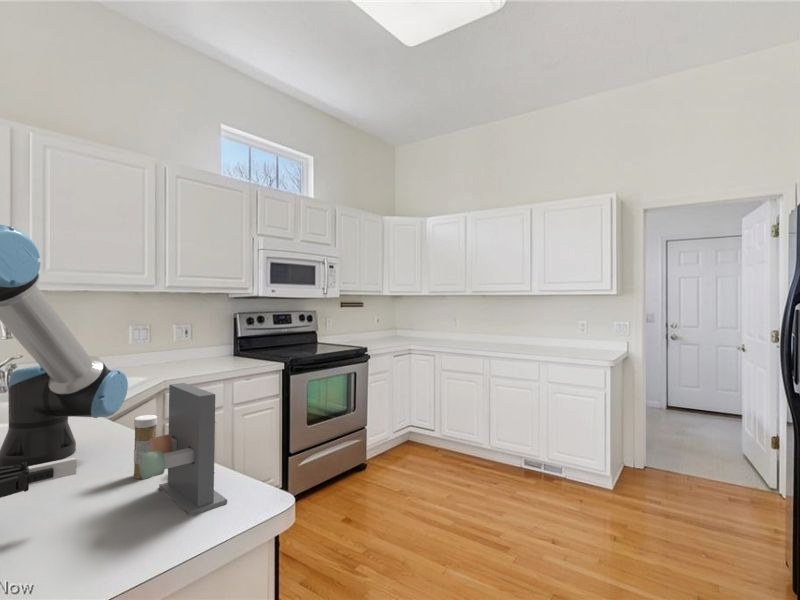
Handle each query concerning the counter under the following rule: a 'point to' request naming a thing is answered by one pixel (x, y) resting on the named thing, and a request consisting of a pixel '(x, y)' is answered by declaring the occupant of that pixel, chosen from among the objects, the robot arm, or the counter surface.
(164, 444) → the rust button
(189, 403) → the button panel
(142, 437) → the spice jar
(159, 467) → the sage button
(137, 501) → the counter surface
